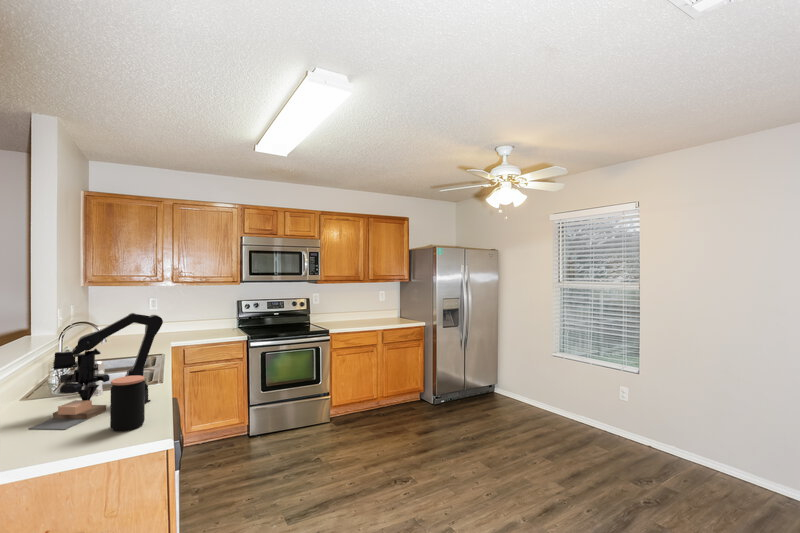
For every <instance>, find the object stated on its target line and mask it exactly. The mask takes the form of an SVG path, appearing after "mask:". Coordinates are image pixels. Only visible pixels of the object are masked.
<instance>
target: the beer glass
mask: <svg viewBox="0 0 800 533" xmlns="http://www.w3.org/2000/svg"><path fill="white" fill-rule="evenodd" d="M95 367H97V370H95V375H96V374H105V361H104V360H99V361H98V360H97V361H96V360H95ZM95 383H96V385H99V386H98V387H97V388H96V390H95V392H94V393H93V395H92V397H94V396H95V397H97V396H101V395H103V394H104V389H103V383H104V382H103V381H101V380H100V381H97V382H95ZM102 393H103V394H102Z"/></svg>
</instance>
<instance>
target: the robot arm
mask: <svg viewBox="0 0 800 533" xmlns="http://www.w3.org/2000/svg"><path fill="white" fill-rule="evenodd" d="M163 323H164V320H163V318H162V317H161V316H159V315H158V314H151V315H145V314H139V313H138V314H137V313H134V312H130V313H128V315H126V316H124V317H122V318H120V319H118V320H116V321H115V322H113V323H111V324H110V325H107V326H105V327H103V328H101V329H99V330H97V331H93V332H90V333H88V334H85V335H83V336H80V338H78V340H77V345H76V346H75V347H74V348H72V351H58V352H54V360H53V371H57V370H64V369H65V370H66V369H72V368H73V367H74V366H76V360H77V368H76V369H74V371H73V373H71V374H68V373H64V374H62V375H60V377H59V381H60V383H61V384H63V385H61V386H60V387H59V393H60V394H75V393H78V395H79V397H80V400H92V399H91V398H92V397H93V396H92V395H93V393H94V392H95V390H96V388H97V387H98V386H99V385H96V383H95V382H97V381H100V380H101V381H103V383H107V382H109V381H110V375H109V374H108V373H104V374H96V375H95V370H97V367H95V361H96V355H101V351H100V350H98V349H97V348H95V347H96V346H98V345H99V344H100V343H101V342H102V341H103V340H105V339H107V338H108V337H110V336H111V335H114V334H116V333H117V332H119V331H121V330H123V329H125V328H127V327H129V326H130V325H132V324H140V325H145V328H144V336H143V337H142V341H141V343H140V346H139V349H138V353H137V355H136V358H135V360H134V363H133V366H132V367H131V368H129V367H128V368H127V369H126V374H125V376H135V375H138V376H144V369H145V366H146V363H147V359H148V356H149V353H150V352H151V351H150V350H151V347H152V345H153V343H154V339H155V337H156V335H157V333H158V332H159V331H160V329H161V328H162V325H163ZM92 349H93V350H92ZM76 357H77V359H76ZM125 376H124V377H125ZM143 382H144V383H145V404H147V403H149V402H151V399H149V385H148V383H147V382H146V381H145V380H144V381H143Z"/></svg>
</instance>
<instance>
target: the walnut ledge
mask: <svg viewBox="0 0 800 533" xmlns="http://www.w3.org/2000/svg"><path fill="white" fill-rule="evenodd" d="M105 411H106V412H107V404H92V408H90V409H88V410H85V411H83V412H81V413H78V414H76V415H59V414H58V410H56V411H53V412H52V418H62V419H87V420H86V421H88V420H89V419H92V418H94V417H97V416H98V415H101V414H103V413H105Z"/></svg>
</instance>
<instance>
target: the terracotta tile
mask: <svg viewBox="0 0 800 533" xmlns="http://www.w3.org/2000/svg"><path fill="white" fill-rule="evenodd" d="M92 405H93V400H92V399H90V400H82V399H75V400H72V401H70V402H68V403H65V404H62V405H59V406H57V411H58V414H59V415H76V414H78V413H81V412H83V411H85V410H88V409H90V408H92Z"/></svg>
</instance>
